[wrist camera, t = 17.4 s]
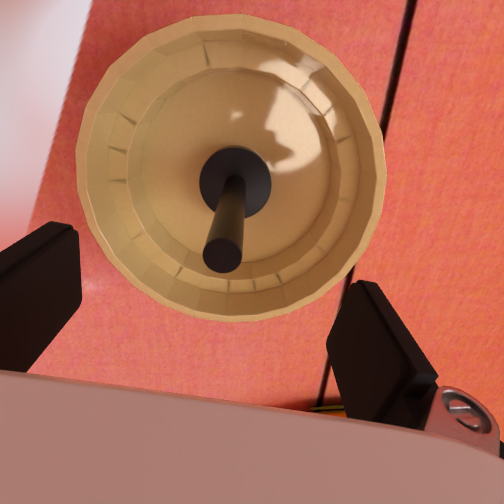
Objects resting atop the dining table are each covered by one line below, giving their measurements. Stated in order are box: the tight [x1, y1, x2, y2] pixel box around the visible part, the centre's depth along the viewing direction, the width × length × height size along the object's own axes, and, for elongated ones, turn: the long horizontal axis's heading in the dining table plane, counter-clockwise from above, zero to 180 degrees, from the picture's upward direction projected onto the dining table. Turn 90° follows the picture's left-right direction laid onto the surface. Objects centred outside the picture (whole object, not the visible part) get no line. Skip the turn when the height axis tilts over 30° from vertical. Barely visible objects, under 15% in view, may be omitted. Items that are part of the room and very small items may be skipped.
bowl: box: [75, 13, 387, 322], centre depth 23 cm, size 20×20×7 cm
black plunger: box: [199, 145, 272, 273], centre depth 20 cm, size 6×6×14 cm
